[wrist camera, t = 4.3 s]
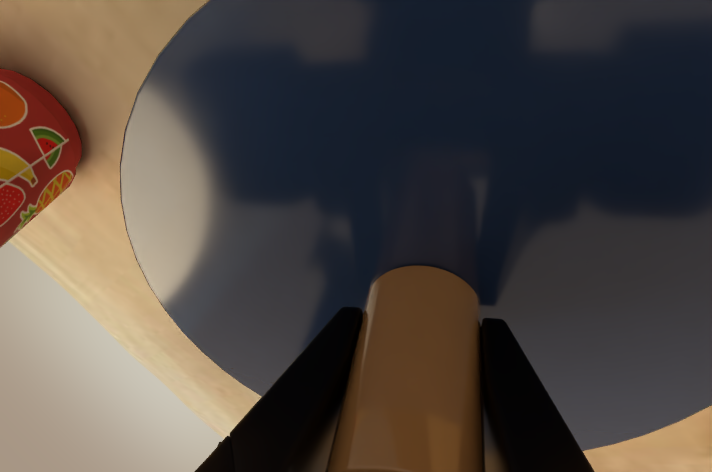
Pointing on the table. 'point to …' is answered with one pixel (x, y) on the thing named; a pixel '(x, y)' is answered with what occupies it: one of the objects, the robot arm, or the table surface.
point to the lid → (437, 206)
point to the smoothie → (32, 151)
